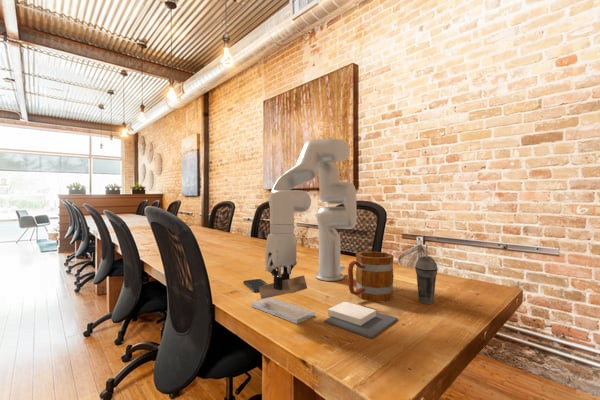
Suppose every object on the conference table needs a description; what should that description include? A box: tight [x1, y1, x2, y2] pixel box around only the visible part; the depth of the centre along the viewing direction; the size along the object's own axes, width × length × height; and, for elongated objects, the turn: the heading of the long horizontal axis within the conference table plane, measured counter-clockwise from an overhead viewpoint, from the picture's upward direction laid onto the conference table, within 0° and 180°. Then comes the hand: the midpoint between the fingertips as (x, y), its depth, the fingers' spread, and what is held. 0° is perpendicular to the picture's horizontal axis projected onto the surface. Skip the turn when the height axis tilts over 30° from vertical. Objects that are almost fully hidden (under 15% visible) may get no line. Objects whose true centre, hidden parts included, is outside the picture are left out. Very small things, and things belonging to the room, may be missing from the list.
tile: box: [327, 301, 377, 326], centre depth 89 cm, size 9×2×11 cm
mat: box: [323, 311, 399, 340], centre depth 87 cm, size 16×15×1 cm
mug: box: [347, 251, 395, 303], centre depth 107 cm, size 20×14×15 cm
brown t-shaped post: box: [259, 275, 308, 300], centre depth 94 cm, size 6×17×4 cm, turn 48°
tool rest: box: [251, 297, 316, 325], centre depth 94 cm, size 8×20×1 cm, turn 48°
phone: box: [243, 278, 268, 294], centre depth 120 cm, size 8×1×15 cm
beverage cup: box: [414, 243, 439, 305], centre depth 103 cm, size 7×7×20 cm
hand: (281, 287), depth 94 cm, fingers closed on brown t-shaped post, 2 cm apart
